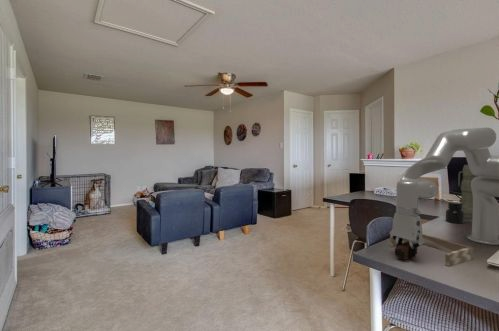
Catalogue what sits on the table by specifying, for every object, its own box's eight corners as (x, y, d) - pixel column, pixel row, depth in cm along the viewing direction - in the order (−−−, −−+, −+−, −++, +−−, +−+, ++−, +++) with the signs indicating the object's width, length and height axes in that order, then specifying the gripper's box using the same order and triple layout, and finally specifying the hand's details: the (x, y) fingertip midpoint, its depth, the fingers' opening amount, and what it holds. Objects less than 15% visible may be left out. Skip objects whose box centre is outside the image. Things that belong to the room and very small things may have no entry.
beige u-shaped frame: (413, 240, 127) (413, 231, 126) (473, 258, 105) (473, 247, 104) (389, 245, 120) (390, 236, 120) (448, 266, 98) (448, 254, 97)
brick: (407, 251, 110) (407, 240, 110) (417, 254, 107) (417, 243, 107) (394, 257, 105) (394, 245, 104) (404, 260, 101) (404, 248, 101)
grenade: (482, 219, 165) (484, 164, 163) (458, 217, 171) (460, 164, 169) (478, 216, 172) (480, 164, 171) (456, 214, 179) (457, 164, 177)
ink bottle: (459, 220, 163) (459, 201, 163) (468, 224, 155) (468, 204, 154) (441, 219, 165) (442, 201, 165) (450, 223, 156) (450, 203, 156)
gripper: (434, 214, 99) (433, 261, 100) (393, 206, 114) (393, 247, 115) (422, 216, 96) (421, 265, 97) (382, 208, 111) (381, 249, 112)
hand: (405, 254), depth 106 cm, fingers closed on brick, 4 cm apart
